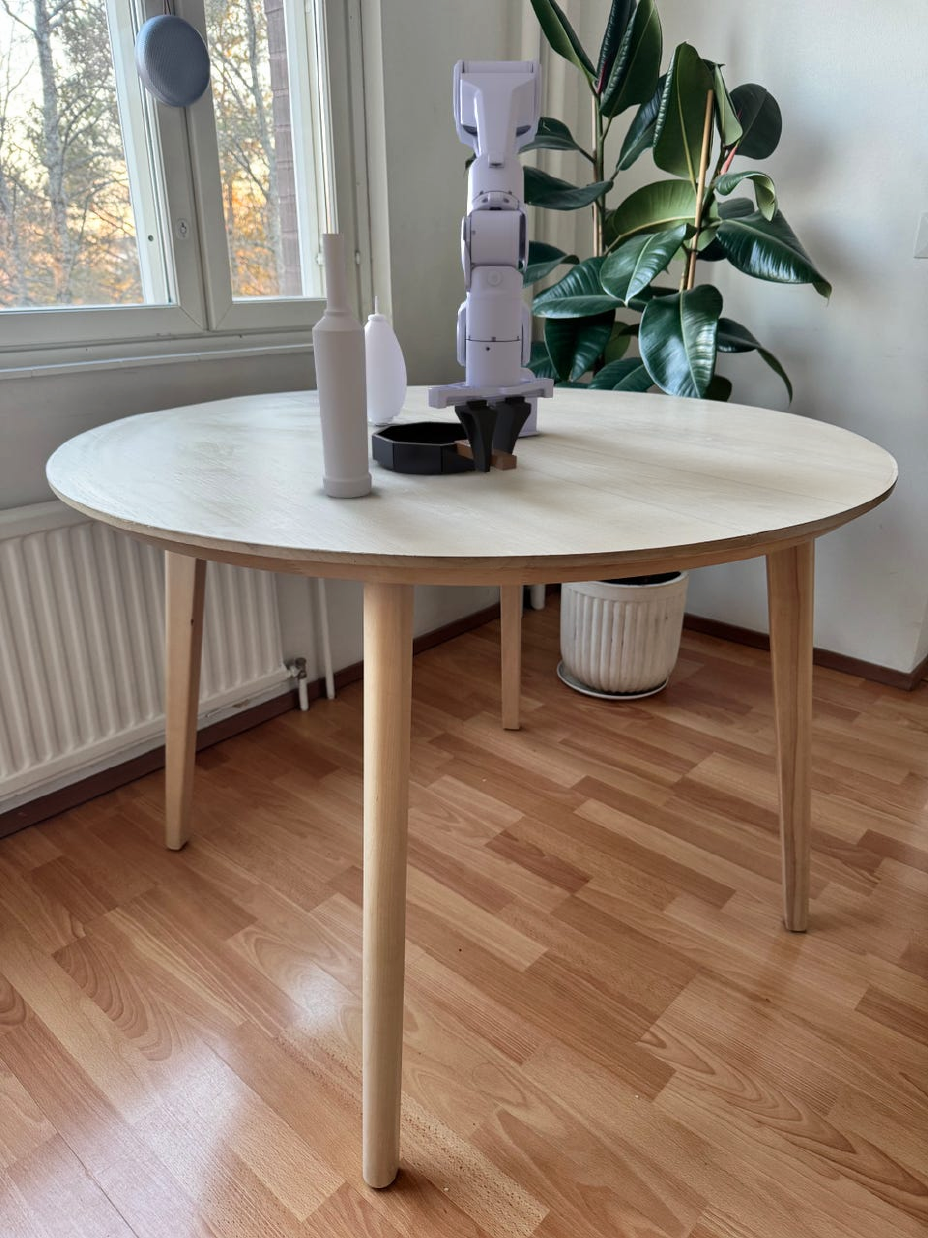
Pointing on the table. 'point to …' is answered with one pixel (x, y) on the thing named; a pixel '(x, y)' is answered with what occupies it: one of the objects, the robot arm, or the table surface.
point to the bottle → (341, 383)
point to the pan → (430, 449)
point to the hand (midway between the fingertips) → (491, 469)
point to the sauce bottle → (383, 370)
